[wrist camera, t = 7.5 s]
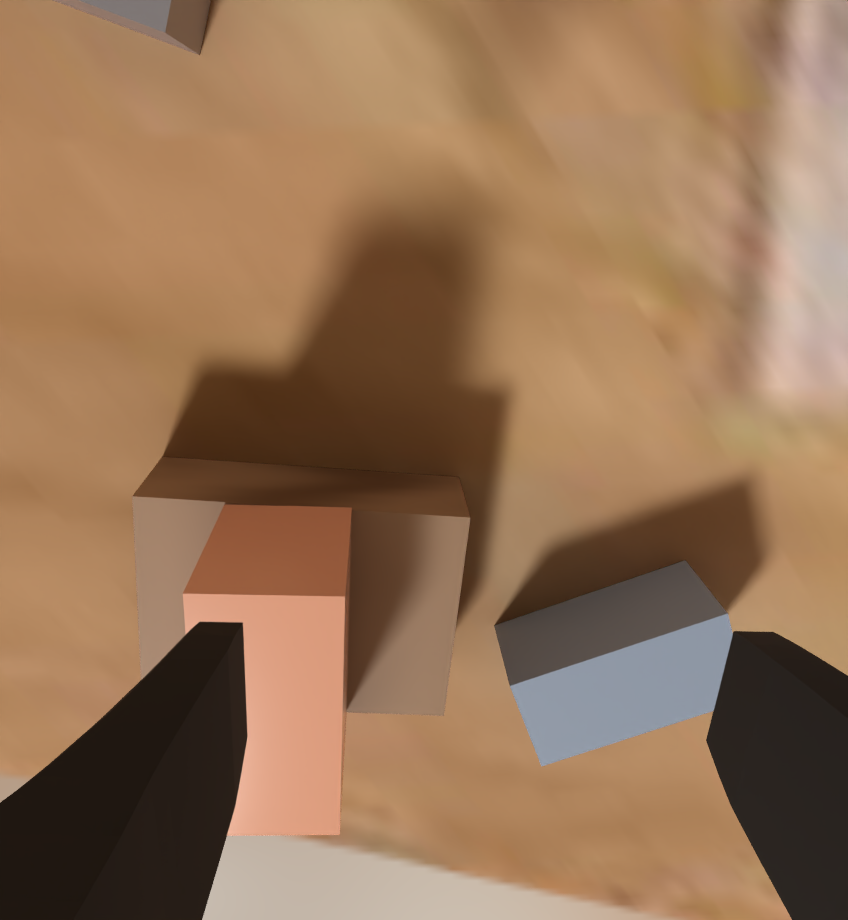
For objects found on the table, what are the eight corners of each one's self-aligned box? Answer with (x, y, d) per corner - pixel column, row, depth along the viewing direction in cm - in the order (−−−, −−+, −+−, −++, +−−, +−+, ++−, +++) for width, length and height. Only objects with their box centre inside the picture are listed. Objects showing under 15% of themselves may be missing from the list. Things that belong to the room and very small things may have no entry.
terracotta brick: (351, 507, 17) (345, 596, 14) (346, 710, 20) (339, 834, 16) (224, 504, 17) (182, 593, 14) (233, 709, 19) (199, 835, 16)
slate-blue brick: (683, 557, 22) (728, 613, 19) (702, 635, 23) (748, 699, 20) (493, 621, 22) (509, 686, 19) (522, 695, 23) (541, 766, 21)
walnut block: (457, 471, 21) (470, 517, 18) (435, 649, 23) (443, 715, 20) (166, 451, 20) (132, 496, 17) (171, 637, 22) (142, 704, 19)
